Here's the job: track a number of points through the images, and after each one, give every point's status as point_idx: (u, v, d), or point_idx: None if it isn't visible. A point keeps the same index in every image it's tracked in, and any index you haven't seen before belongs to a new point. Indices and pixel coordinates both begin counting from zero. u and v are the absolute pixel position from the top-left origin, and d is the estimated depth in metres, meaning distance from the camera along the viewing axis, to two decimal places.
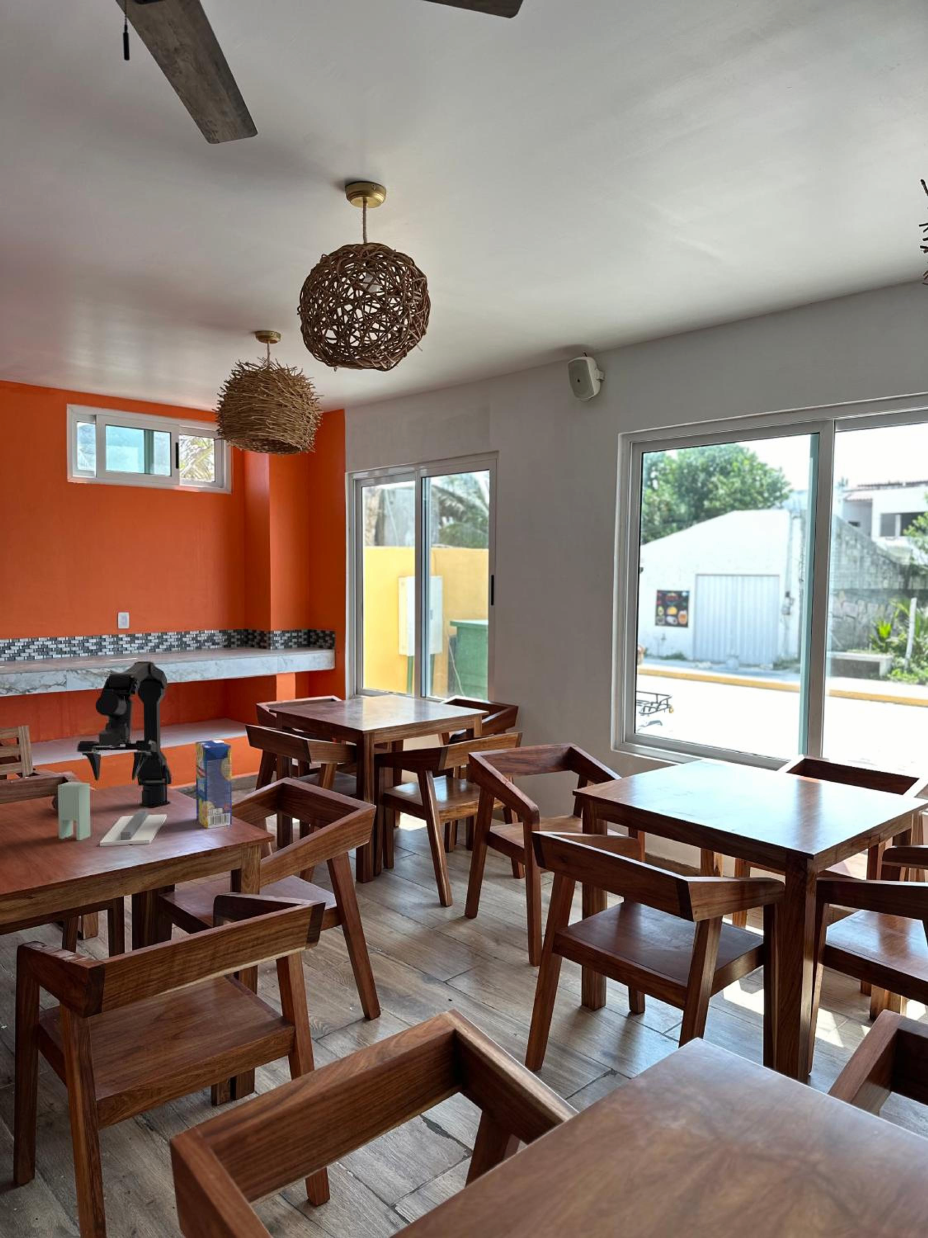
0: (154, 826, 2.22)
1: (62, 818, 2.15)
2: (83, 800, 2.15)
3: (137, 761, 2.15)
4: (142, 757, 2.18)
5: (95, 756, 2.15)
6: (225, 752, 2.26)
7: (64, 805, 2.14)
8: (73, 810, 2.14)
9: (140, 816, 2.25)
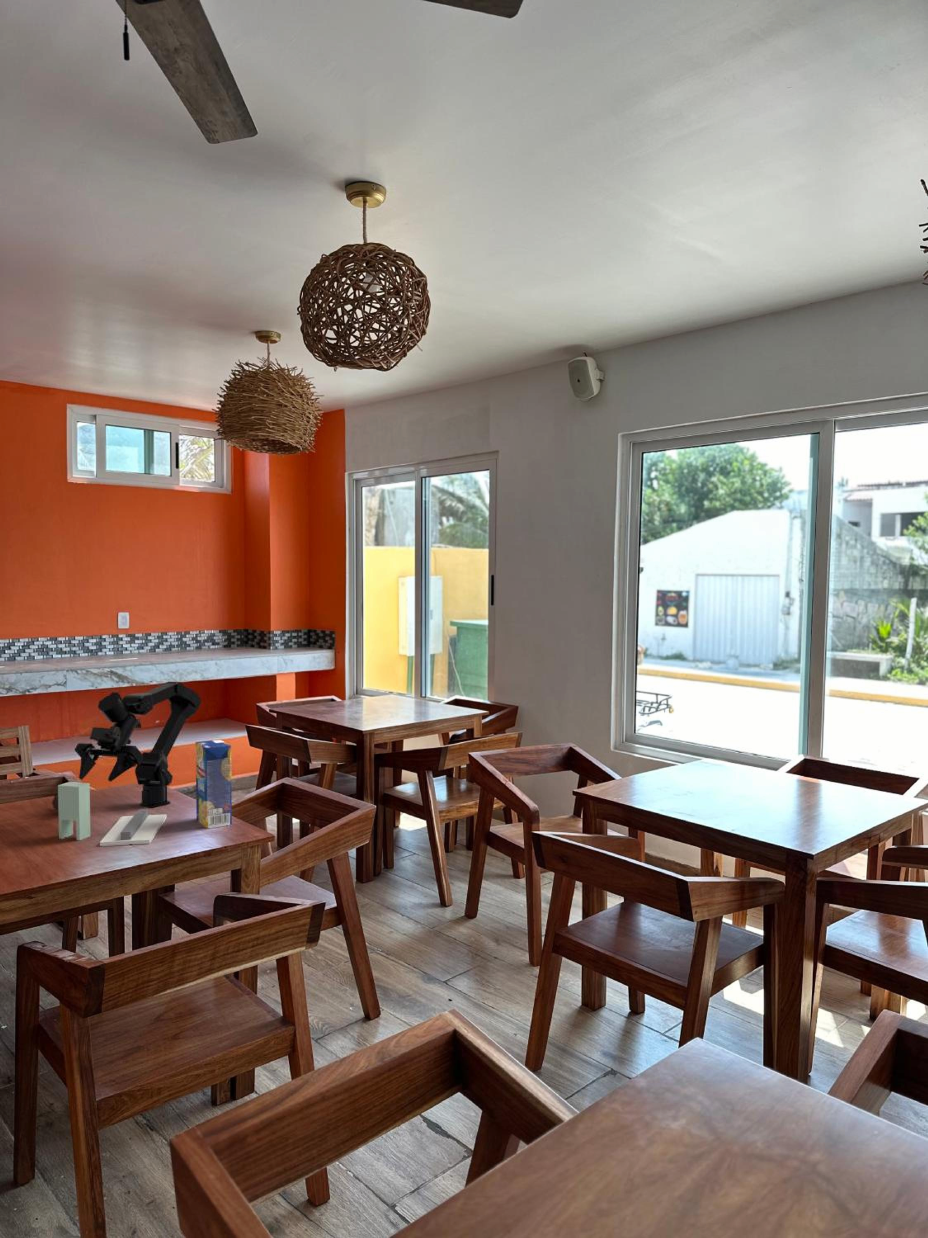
0: (154, 826, 2.22)
1: (62, 818, 2.15)
2: (83, 800, 2.15)
3: (118, 763, 2.24)
4: (126, 765, 2.26)
5: (87, 757, 2.28)
6: (225, 752, 2.26)
7: (64, 805, 2.14)
8: (73, 810, 2.14)
9: (140, 816, 2.25)
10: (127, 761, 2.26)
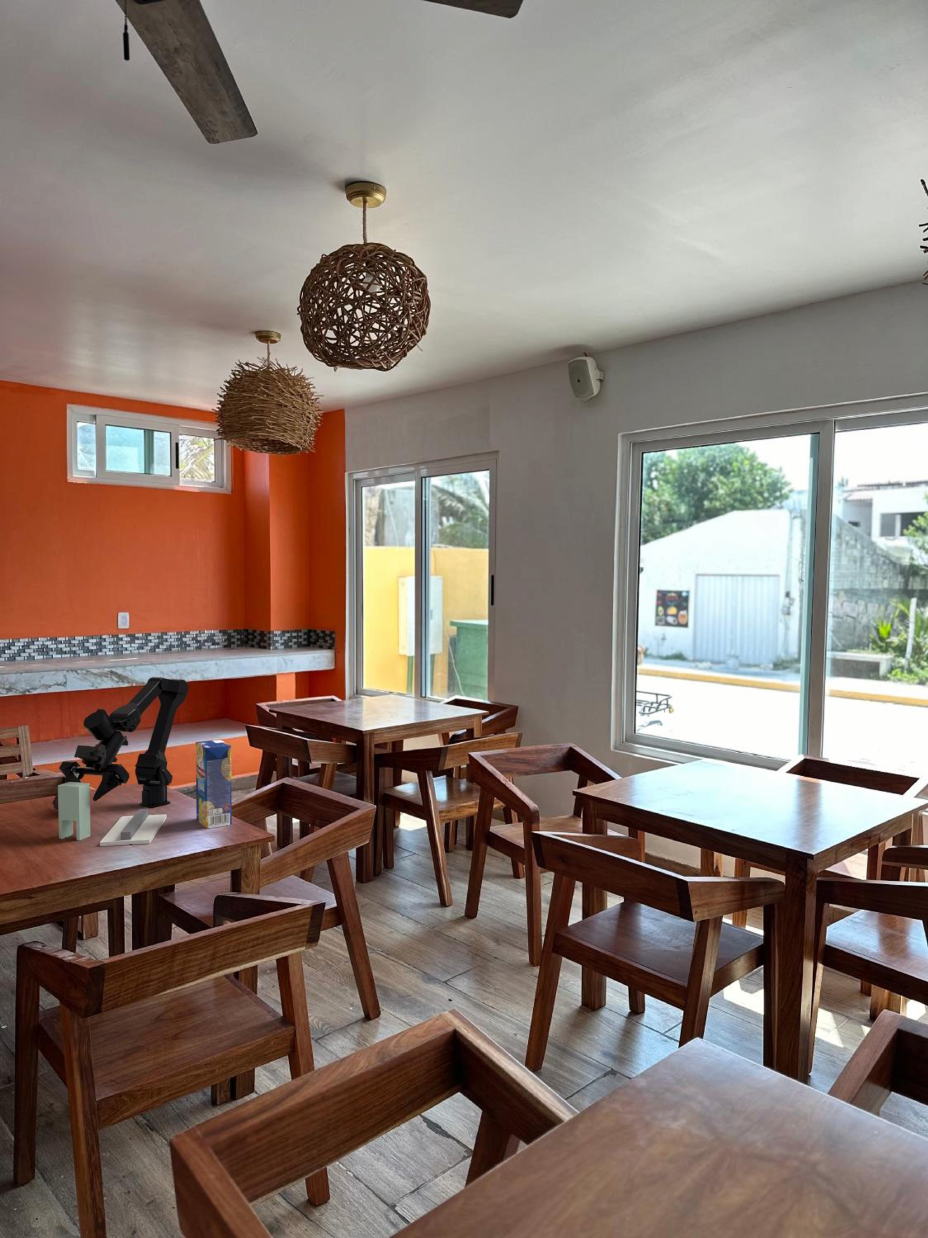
0: (154, 826, 2.22)
1: (62, 818, 2.15)
2: (83, 800, 2.15)
3: (103, 782, 2.18)
4: (111, 784, 2.21)
5: (72, 775, 2.22)
6: (225, 752, 2.26)
7: (64, 805, 2.14)
8: (73, 810, 2.14)
9: (140, 816, 2.25)
10: (112, 780, 2.20)
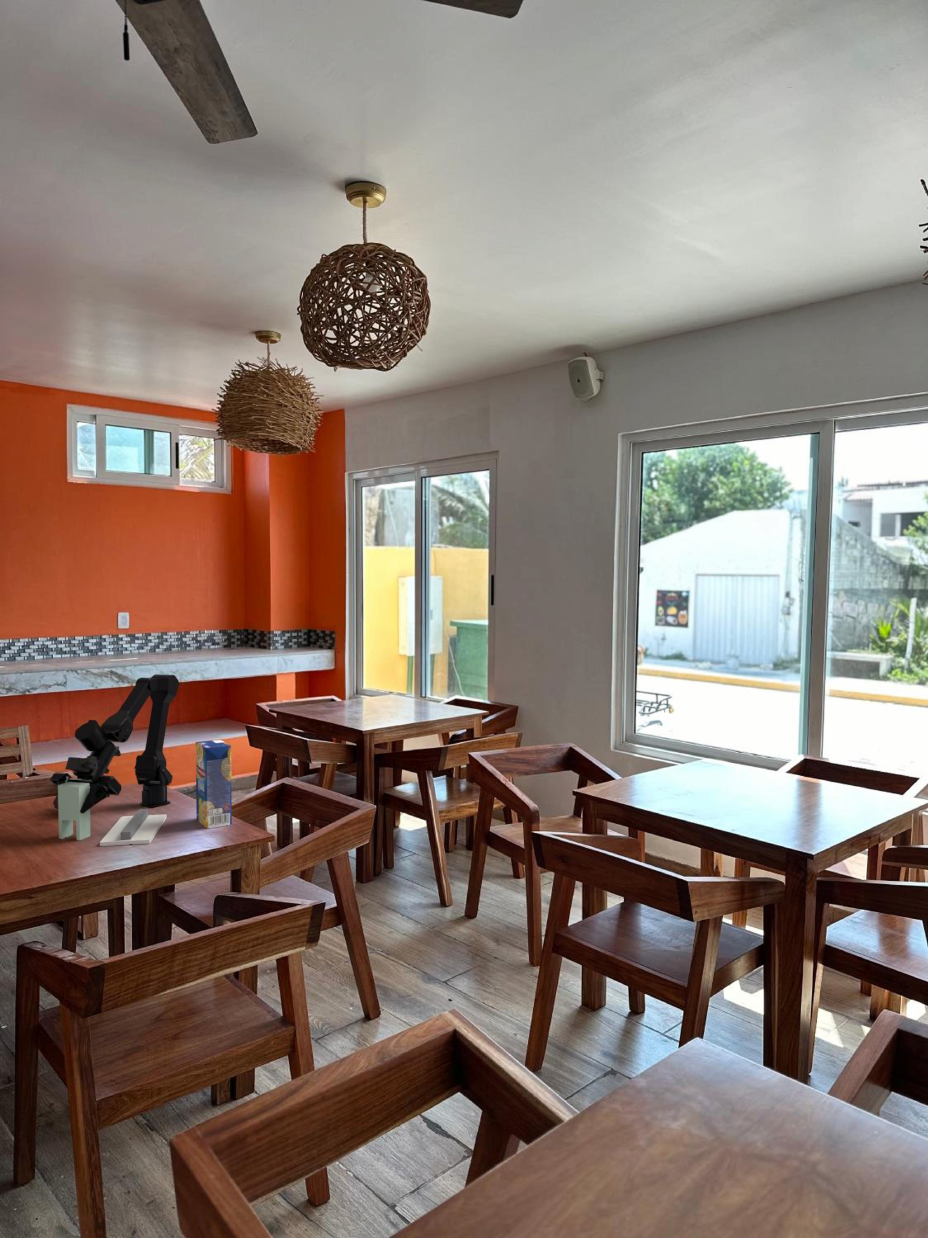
0: (154, 826, 2.22)
1: (62, 818, 2.14)
2: (83, 800, 2.15)
3: (91, 794, 2.15)
4: (99, 795, 2.18)
5: None
6: (225, 752, 2.26)
7: (64, 805, 2.14)
8: (73, 810, 2.14)
9: (140, 816, 2.25)
10: (100, 792, 2.17)
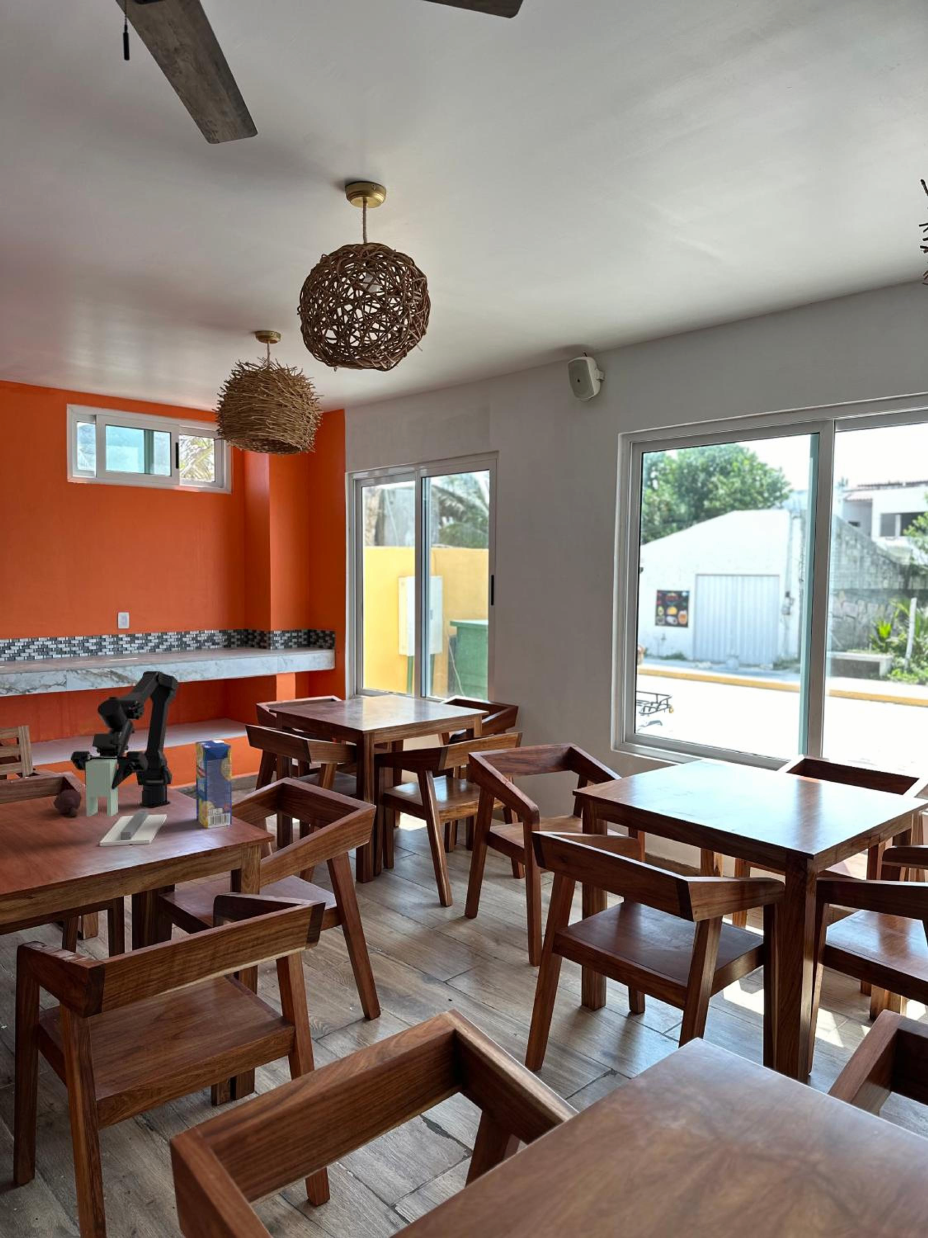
0: (154, 826, 2.22)
1: (90, 795, 2.13)
2: (113, 776, 2.14)
3: (120, 770, 2.15)
4: (126, 771, 2.18)
5: None
6: (225, 752, 2.26)
7: (93, 782, 2.12)
8: (103, 787, 2.12)
9: (140, 816, 2.25)
10: (128, 767, 2.17)
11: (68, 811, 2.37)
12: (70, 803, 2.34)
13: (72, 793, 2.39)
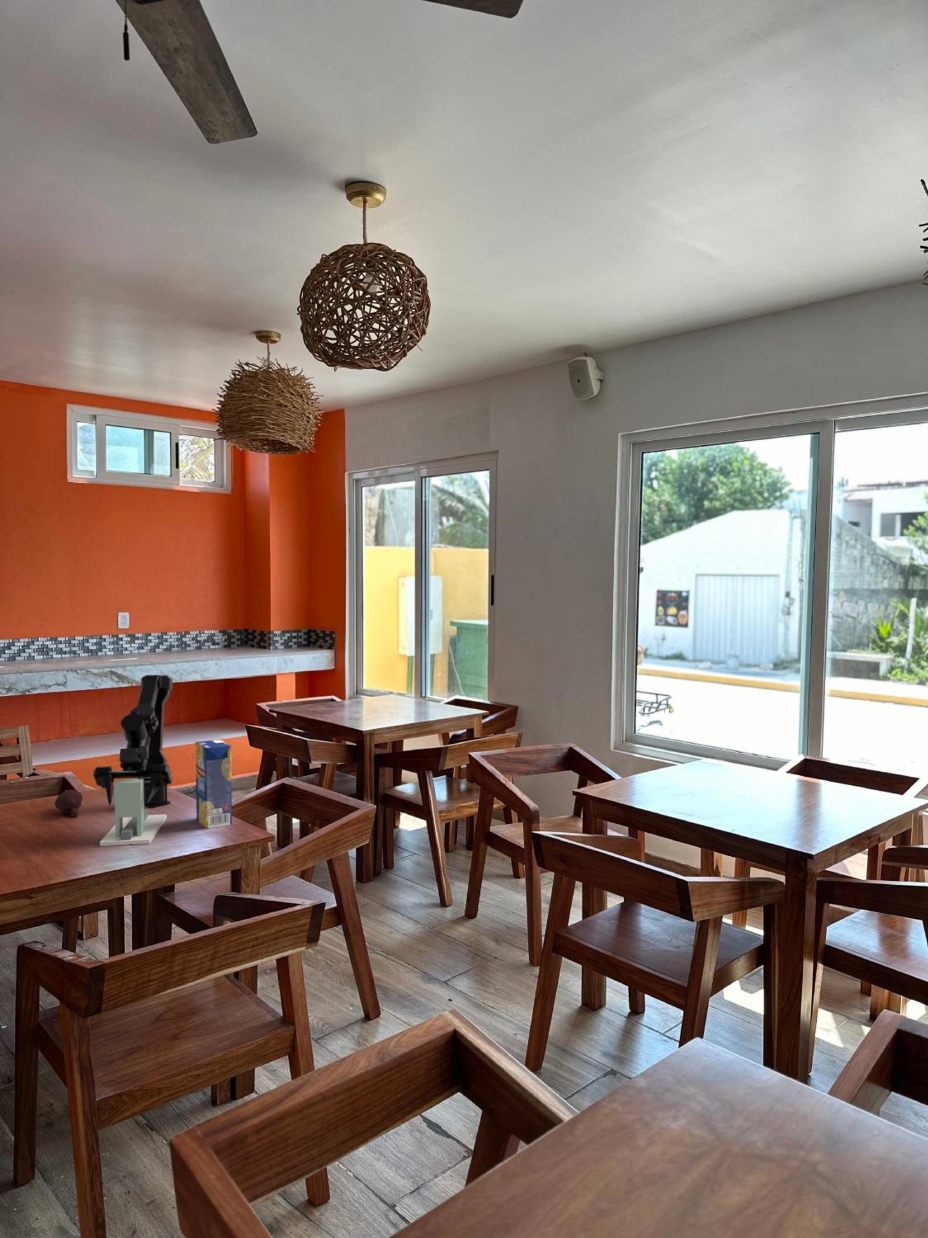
0: (154, 826, 2.22)
1: (119, 816, 2.13)
2: (142, 795, 2.15)
3: (153, 783, 2.17)
4: (156, 784, 2.20)
5: (110, 780, 2.16)
6: (225, 752, 2.26)
7: (123, 802, 2.13)
8: (133, 806, 2.13)
9: None
10: (159, 781, 2.19)
11: (69, 811, 2.37)
12: (70, 803, 2.33)
13: (73, 793, 2.39)
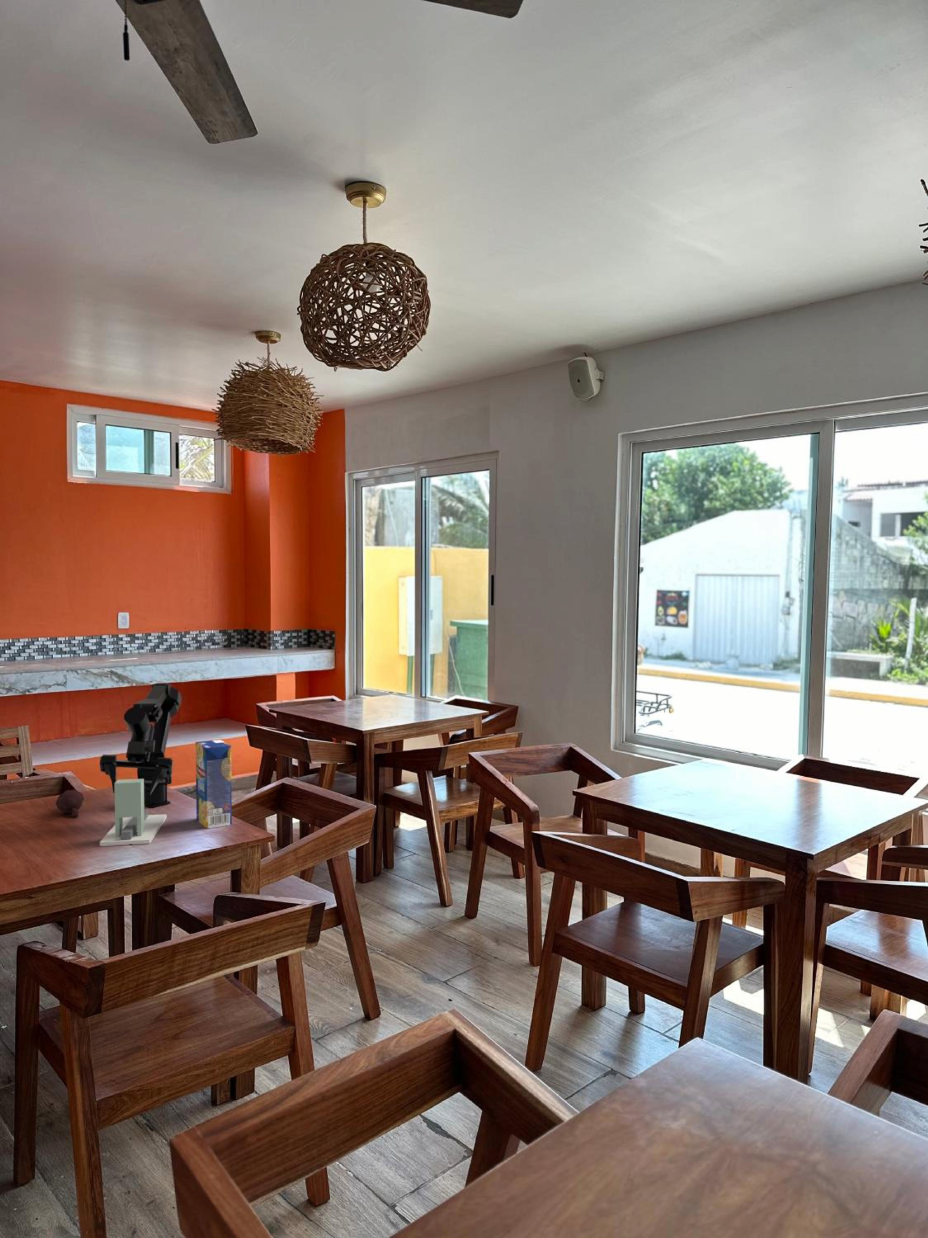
0: (154, 826, 2.22)
1: (119, 816, 2.13)
2: (142, 795, 2.15)
3: (156, 776, 2.27)
4: (159, 776, 2.30)
5: (115, 769, 2.26)
6: (225, 752, 2.26)
7: (123, 802, 2.13)
8: (133, 806, 2.13)
9: None
10: (161, 773, 2.30)
11: (69, 811, 2.37)
12: (71, 804, 2.33)
13: (74, 793, 2.38)
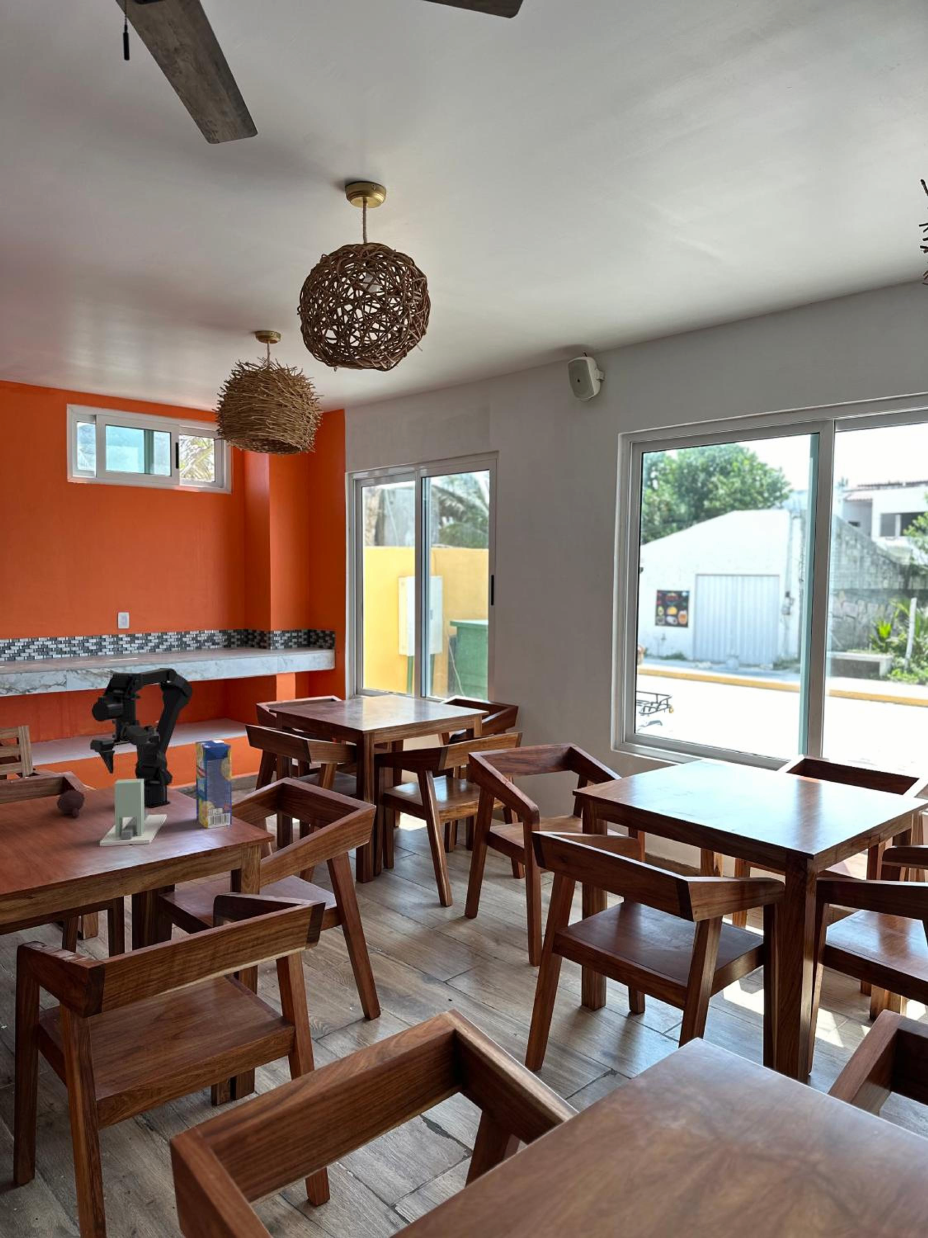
0: (154, 826, 2.22)
1: (119, 816, 2.13)
2: (142, 795, 2.15)
3: (146, 751, 2.40)
4: None
5: None
6: (225, 752, 2.26)
7: (123, 802, 2.13)
8: (133, 806, 2.13)
9: None
10: None
11: (70, 812, 2.37)
12: (71, 804, 2.33)
13: (74, 794, 2.38)
